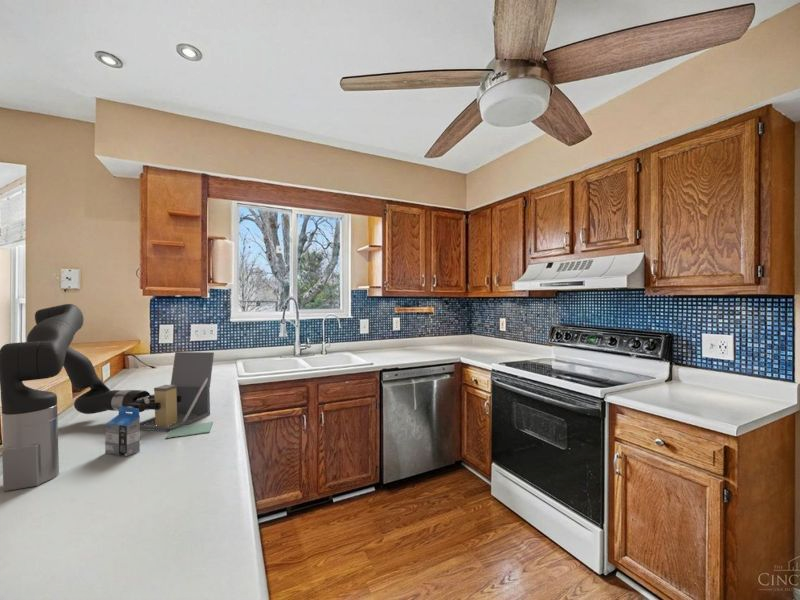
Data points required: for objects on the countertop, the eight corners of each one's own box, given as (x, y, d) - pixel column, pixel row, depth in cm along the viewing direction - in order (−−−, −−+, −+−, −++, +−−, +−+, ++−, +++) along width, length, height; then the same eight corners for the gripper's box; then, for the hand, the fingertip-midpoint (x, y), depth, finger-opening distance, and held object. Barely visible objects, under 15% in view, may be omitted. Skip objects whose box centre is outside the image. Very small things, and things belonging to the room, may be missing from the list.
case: (173, 431, 116) (171, 361, 116) (131, 428, 119) (129, 360, 119) (215, 411, 135) (214, 352, 135) (178, 410, 138) (176, 351, 138)
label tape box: (104, 453, 100) (103, 409, 100) (119, 447, 103) (118, 405, 103) (126, 457, 97) (125, 412, 97) (141, 451, 101) (140, 407, 101)
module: (166, 426, 120) (165, 388, 120) (155, 426, 121) (154, 388, 121) (177, 421, 125) (176, 385, 125) (166, 421, 126) (165, 384, 125)
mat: (209, 432, 114) (209, 431, 114) (165, 439, 109) (165, 437, 109) (213, 422, 123) (213, 421, 123) (172, 428, 118) (172, 427, 118)
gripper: (111, 395, 118) (152, 397, 115) (148, 385, 132) (186, 386, 129) (111, 418, 119) (152, 420, 115) (149, 405, 133) (186, 407, 129)
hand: (170, 402), depth 122 cm, fingers open, 8 cm apart
